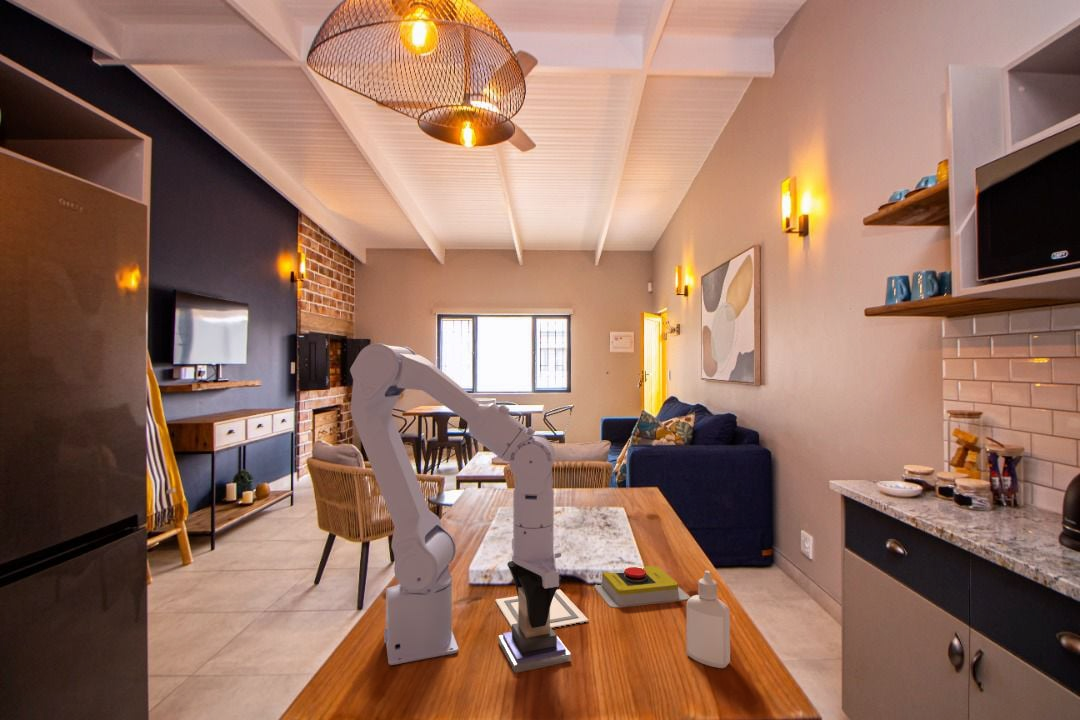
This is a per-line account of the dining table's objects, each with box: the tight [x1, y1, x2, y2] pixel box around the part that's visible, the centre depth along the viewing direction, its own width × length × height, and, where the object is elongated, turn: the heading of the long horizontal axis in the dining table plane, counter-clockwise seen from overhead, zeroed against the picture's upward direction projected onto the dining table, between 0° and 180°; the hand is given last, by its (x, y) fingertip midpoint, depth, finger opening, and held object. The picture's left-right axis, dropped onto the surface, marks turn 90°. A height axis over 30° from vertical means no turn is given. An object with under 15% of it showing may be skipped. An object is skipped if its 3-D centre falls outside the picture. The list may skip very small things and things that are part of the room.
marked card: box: [495, 588, 590, 629], centre depth 84 cm, size 12×12×1 cm
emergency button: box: [594, 565, 691, 609], centre depth 92 cm, size 9×4×15 cm
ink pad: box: [498, 631, 572, 674], centre depth 72 cm, size 8×8×2 cm
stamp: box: [511, 587, 558, 653], centre depth 72 cm, size 5×5×7 cm
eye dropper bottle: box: [685, 570, 731, 669], centre depth 71 cm, size 4×6×12 cm
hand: (533, 618), depth 72 cm, fingers closed on stamp, 3 cm apart
